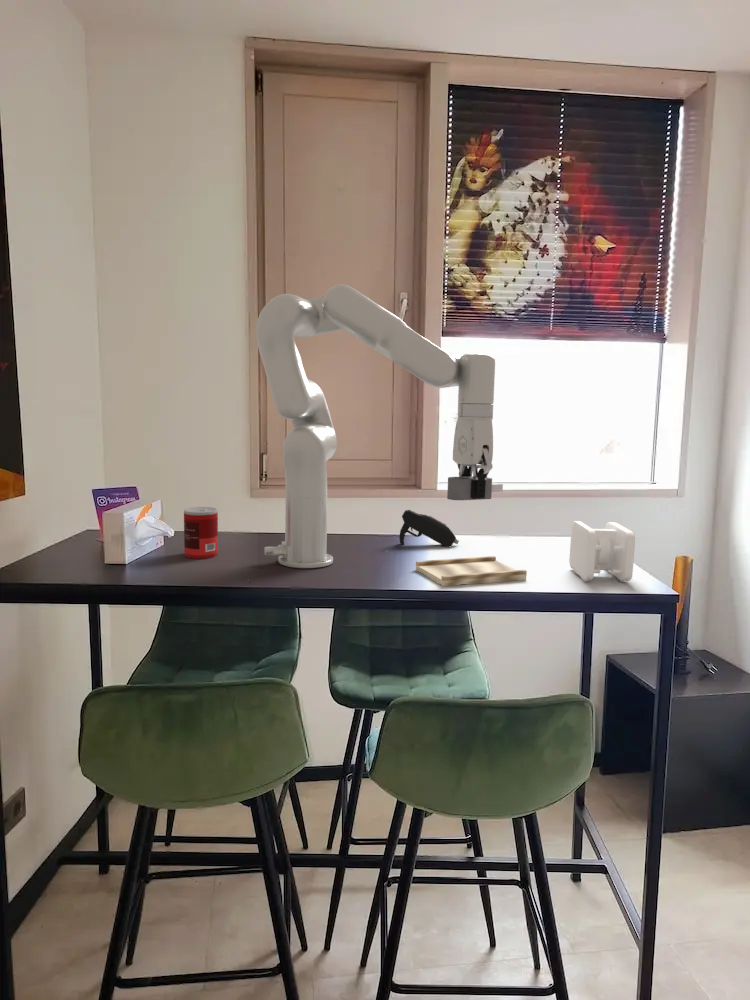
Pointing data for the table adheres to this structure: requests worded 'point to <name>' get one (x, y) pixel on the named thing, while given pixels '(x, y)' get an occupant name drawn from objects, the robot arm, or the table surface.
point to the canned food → (200, 532)
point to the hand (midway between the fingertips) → (471, 495)
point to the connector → (469, 488)
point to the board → (469, 571)
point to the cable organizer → (602, 550)
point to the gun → (426, 528)
